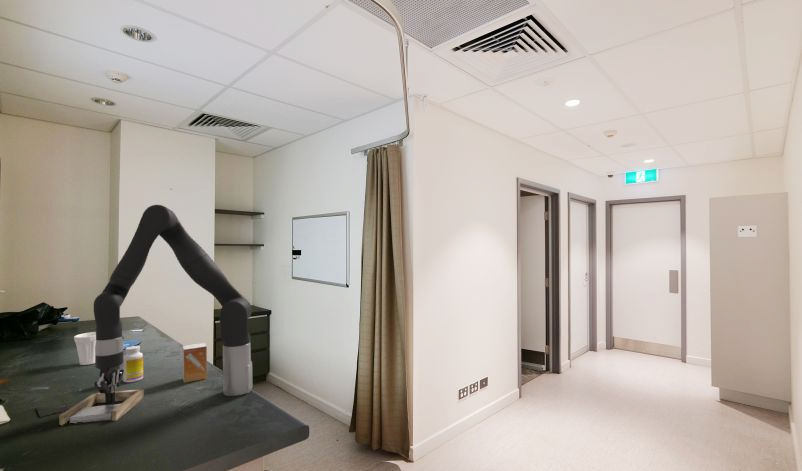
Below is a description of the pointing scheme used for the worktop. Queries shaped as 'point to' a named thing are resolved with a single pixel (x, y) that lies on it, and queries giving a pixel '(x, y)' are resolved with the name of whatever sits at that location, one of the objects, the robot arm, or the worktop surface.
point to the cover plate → (93, 413)
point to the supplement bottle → (133, 364)
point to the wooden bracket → (127, 396)
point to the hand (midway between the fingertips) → (110, 403)
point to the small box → (194, 362)
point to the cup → (86, 347)
